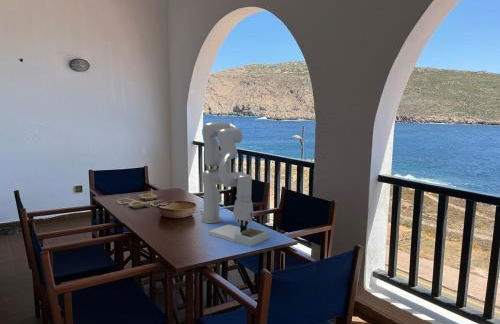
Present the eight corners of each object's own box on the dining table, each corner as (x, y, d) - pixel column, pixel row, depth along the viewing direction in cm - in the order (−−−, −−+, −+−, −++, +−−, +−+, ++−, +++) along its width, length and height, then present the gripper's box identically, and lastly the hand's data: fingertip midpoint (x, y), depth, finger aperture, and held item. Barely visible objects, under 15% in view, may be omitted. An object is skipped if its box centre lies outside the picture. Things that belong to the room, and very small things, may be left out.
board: (208, 234, 202) (208, 230, 202) (228, 227, 215) (228, 224, 214) (234, 242, 191) (234, 238, 191) (253, 234, 204) (253, 230, 204)
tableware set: (112, 202, 270) (112, 196, 270) (150, 196, 290) (150, 191, 289) (134, 212, 245) (134, 206, 244) (173, 205, 264) (173, 199, 264)
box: (234, 241, 192) (235, 234, 191) (252, 234, 204) (253, 227, 203) (250, 246, 185) (251, 238, 185) (268, 238, 197) (268, 231, 197)
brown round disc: (240, 236, 195) (242, 231, 194) (249, 232, 200) (250, 227, 199) (251, 242, 191) (252, 237, 190) (259, 239, 196) (260, 234, 195)
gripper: (228, 197, 197) (227, 230, 199) (251, 201, 188) (250, 237, 190) (237, 194, 203) (236, 227, 205) (259, 199, 194) (258, 233, 196)
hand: (243, 232), depth 198 cm, fingers closed
